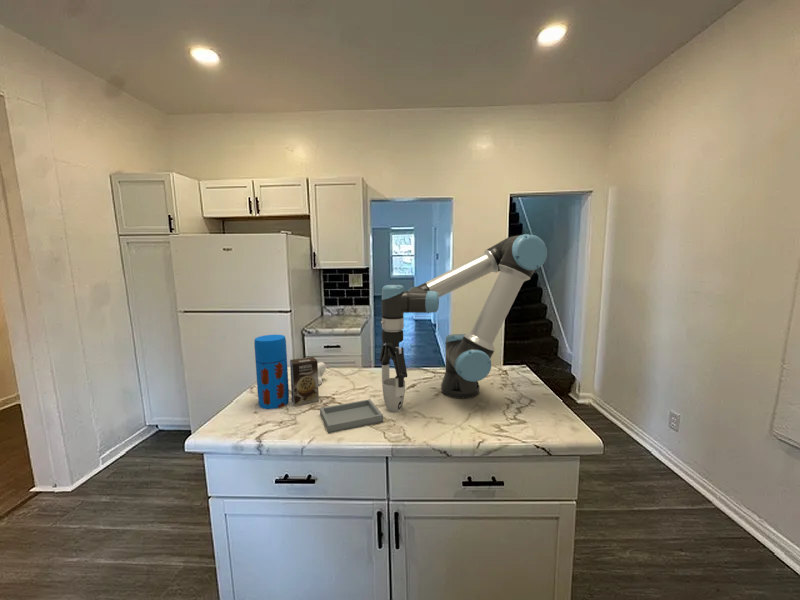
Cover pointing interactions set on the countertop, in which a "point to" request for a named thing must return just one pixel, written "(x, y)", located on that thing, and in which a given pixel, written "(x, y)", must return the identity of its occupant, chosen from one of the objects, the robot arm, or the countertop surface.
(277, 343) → the thermos
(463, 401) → the countertop surface
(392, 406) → the cup
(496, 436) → the countertop surface
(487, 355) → the robot arm
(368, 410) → the tray
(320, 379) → the white decorative knot
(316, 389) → the coffee box
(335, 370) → the countertop surface
